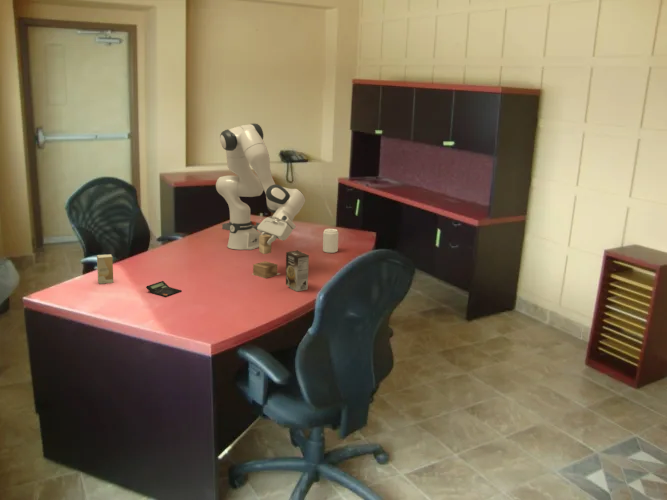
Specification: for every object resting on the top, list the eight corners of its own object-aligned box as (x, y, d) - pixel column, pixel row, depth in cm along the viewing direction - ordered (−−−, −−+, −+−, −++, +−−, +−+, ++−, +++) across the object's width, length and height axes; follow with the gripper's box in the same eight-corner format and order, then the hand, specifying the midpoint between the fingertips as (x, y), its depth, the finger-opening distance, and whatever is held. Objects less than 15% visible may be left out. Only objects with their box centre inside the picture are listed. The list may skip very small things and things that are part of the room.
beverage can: (320, 252, 342) (321, 230, 339) (326, 248, 349) (326, 227, 346) (334, 254, 339) (335, 232, 336) (339, 250, 346) (340, 229, 343)
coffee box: (285, 286, 285) (285, 251, 280) (296, 283, 289) (297, 249, 284) (296, 291, 278) (297, 256, 274) (308, 289, 282) (309, 254, 277)
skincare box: (99, 284, 280) (97, 257, 277) (97, 281, 283) (95, 255, 280) (114, 282, 283) (112, 256, 279) (112, 279, 286) (111, 253, 283)
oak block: (266, 250, 298) (266, 234, 296) (271, 252, 295) (271, 236, 293) (259, 252, 295) (259, 235, 293) (264, 254, 292) (264, 237, 290)
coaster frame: (244, 224, 401) (244, 219, 401) (265, 228, 390) (265, 224, 390) (222, 228, 388) (222, 223, 387) (242, 233, 377) (242, 228, 376)
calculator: (165, 298, 266) (165, 291, 265) (146, 292, 272) (145, 286, 271) (181, 292, 274) (181, 285, 273) (162, 287, 280) (162, 280, 279)
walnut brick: (265, 271, 303) (265, 261, 302) (277, 274, 298) (277, 264, 297) (253, 274, 297) (253, 264, 296) (265, 278, 292) (265, 268, 291)
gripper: (264, 211, 303) (247, 234, 299) (290, 219, 288) (272, 243, 284) (272, 219, 306) (255, 241, 303) (298, 227, 291) (280, 251, 288)
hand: (264, 242), depth 293 cm, fingers closed on oak block, 4 cm apart
